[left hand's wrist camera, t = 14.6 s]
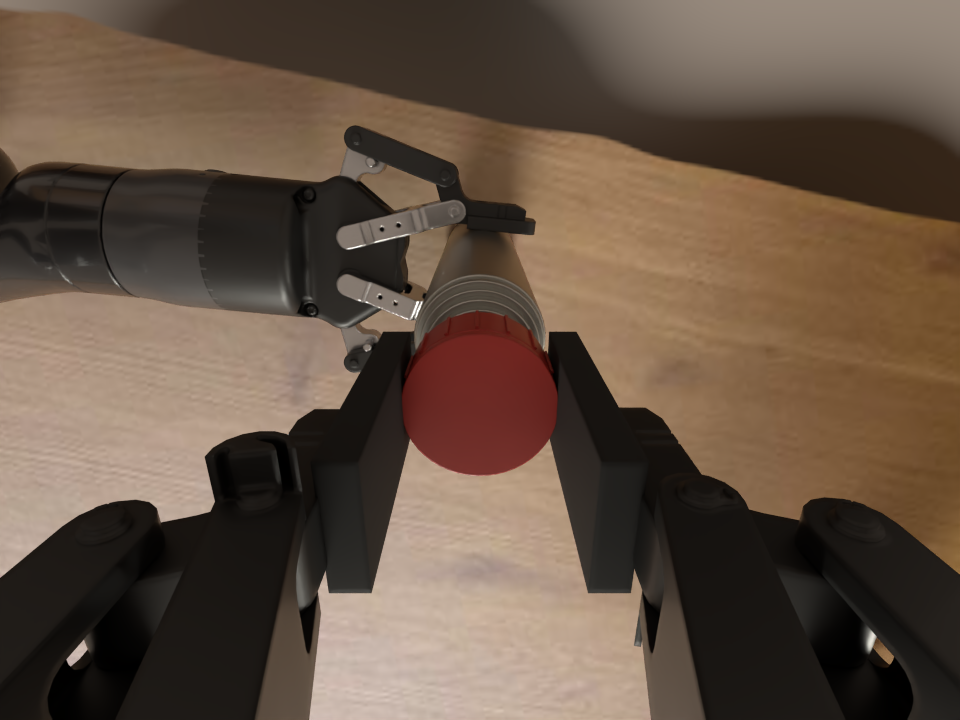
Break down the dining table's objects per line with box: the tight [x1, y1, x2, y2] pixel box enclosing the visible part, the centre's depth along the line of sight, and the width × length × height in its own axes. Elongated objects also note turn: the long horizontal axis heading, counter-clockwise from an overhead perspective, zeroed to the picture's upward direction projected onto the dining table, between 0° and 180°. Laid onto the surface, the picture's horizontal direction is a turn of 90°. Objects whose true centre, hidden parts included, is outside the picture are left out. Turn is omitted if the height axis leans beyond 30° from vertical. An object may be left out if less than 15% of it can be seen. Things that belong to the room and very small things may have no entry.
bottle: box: [414, 224, 546, 350], centre depth 24 cm, size 5×4×24 cm
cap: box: [402, 310, 558, 476], centre depth 14 cm, size 4×4×2 cm
